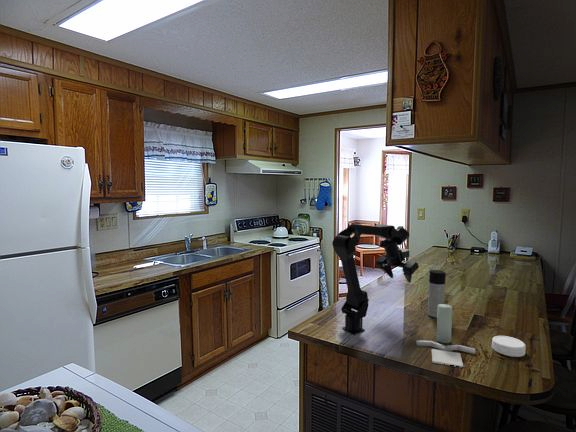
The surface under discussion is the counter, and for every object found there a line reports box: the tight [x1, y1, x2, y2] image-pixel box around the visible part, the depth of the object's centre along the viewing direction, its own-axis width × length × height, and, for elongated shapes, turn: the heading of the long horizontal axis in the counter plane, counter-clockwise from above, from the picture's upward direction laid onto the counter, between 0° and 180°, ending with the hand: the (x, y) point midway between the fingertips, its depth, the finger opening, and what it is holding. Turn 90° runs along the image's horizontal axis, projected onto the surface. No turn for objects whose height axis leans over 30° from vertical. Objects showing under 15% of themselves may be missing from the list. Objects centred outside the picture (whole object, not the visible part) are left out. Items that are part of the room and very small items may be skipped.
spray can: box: [427, 269, 447, 319], centre depth 155 cm, size 7×7×20 cm
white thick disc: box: [491, 335, 526, 358], centre depth 122 cm, size 10×10×4 cm
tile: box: [431, 348, 464, 368], centre depth 116 cm, size 9×9×1 cm
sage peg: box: [435, 303, 453, 344], centre depth 130 cm, size 5×5×13 cm
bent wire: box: [415, 339, 476, 355], centre depth 123 cm, size 19×4×2 cm, turn 70°
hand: (401, 280), depth 156 cm, fingers open, 9 cm apart
